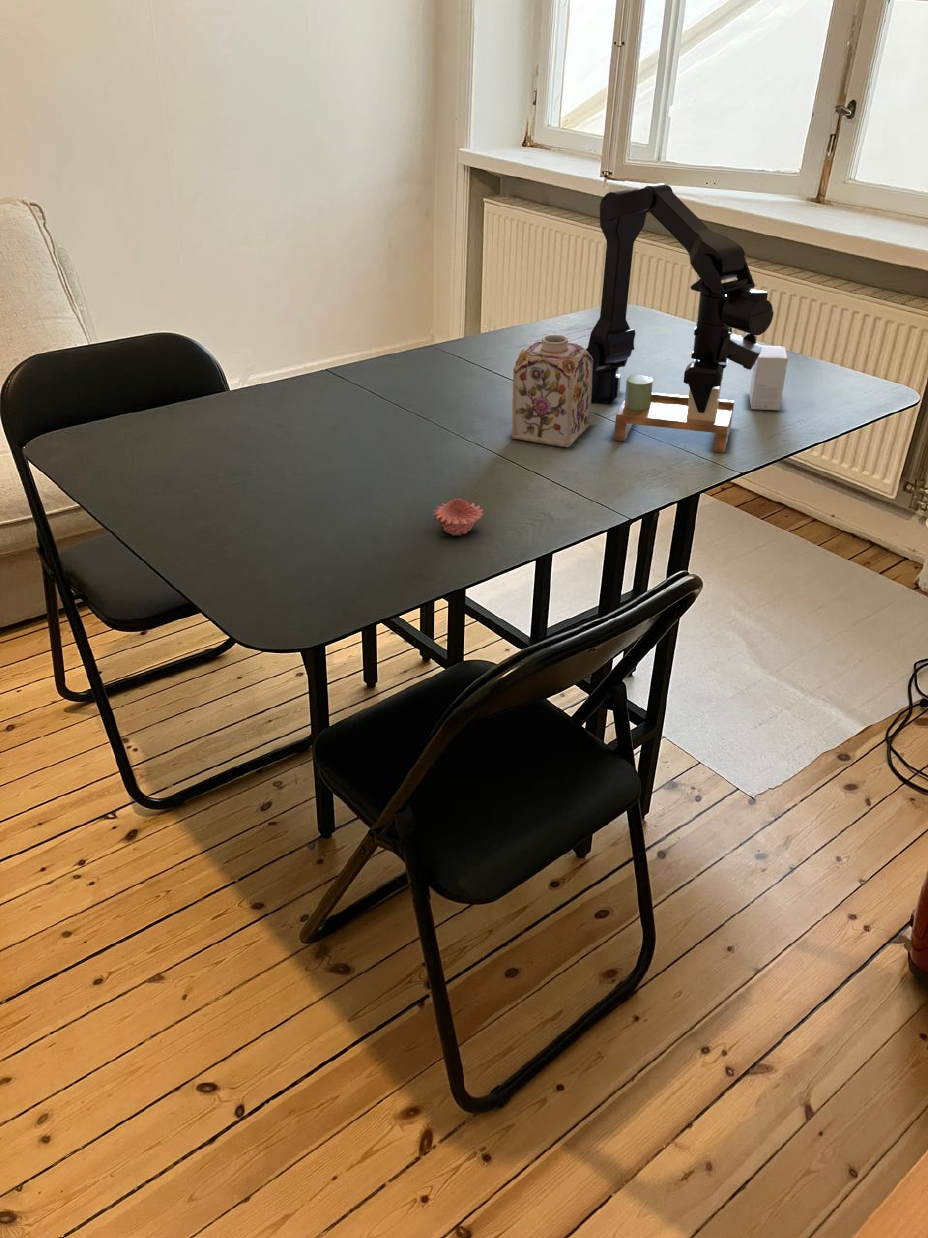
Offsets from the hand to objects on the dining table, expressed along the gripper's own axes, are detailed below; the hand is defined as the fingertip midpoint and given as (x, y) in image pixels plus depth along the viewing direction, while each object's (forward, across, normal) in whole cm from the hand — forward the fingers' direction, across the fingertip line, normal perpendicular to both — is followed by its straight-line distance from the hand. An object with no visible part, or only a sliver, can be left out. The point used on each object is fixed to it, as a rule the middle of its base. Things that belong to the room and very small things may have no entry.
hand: (702, 407), depth 181 cm
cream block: (+2, 0, 0) cm, 2 cm away
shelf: (+6, +2, +5) cm, 8 cm away
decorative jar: (+7, -4, +27) cm, 28 cm away
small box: (+7, +23, -10) cm, 26 cm away
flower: (+7, -47, +31) cm, 57 cm away
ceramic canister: (+2, +2, +12) cm, 12 cm away
